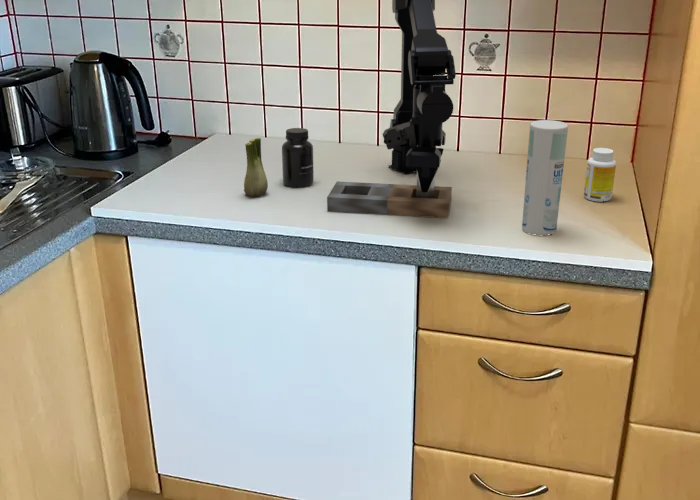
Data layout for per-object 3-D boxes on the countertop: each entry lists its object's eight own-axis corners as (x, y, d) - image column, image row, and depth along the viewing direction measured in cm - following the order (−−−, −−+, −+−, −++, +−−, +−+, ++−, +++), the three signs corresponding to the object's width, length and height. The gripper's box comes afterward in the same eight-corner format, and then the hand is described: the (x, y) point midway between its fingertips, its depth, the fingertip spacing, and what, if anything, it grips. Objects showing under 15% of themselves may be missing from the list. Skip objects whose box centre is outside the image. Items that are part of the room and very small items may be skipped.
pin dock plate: (451, 200, 156) (451, 186, 155) (448, 218, 147) (448, 203, 145) (337, 194, 160) (336, 181, 159) (327, 211, 151) (327, 197, 150)
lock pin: (426, 202, 155) (427, 155, 151) (440, 208, 152) (442, 160, 148) (409, 207, 153) (410, 159, 149) (423, 213, 149) (425, 164, 145)
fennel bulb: (260, 188, 164) (257, 134, 159) (274, 193, 161) (271, 138, 156) (238, 195, 160) (234, 140, 156) (253, 200, 157) (249, 144, 152)
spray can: (550, 239, 137) (561, 130, 129) (515, 232, 140) (524, 125, 132) (561, 227, 142) (573, 122, 134) (528, 221, 145) (537, 118, 137)
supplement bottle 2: (617, 200, 155) (624, 151, 151) (596, 204, 153) (602, 155, 149) (598, 192, 160) (604, 145, 156) (577, 196, 158) (583, 148, 154)
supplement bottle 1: (309, 189, 163) (307, 135, 159) (279, 187, 165) (276, 133, 160) (317, 179, 170) (315, 126, 165) (287, 177, 171) (285, 125, 166)
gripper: (392, 99, 154) (391, 172, 160) (379, 121, 137) (378, 202, 143) (447, 101, 152) (444, 175, 158) (440, 123, 135) (437, 205, 142)
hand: (425, 188), depth 150 cm, fingers closed on lock pin, 4 cm apart
